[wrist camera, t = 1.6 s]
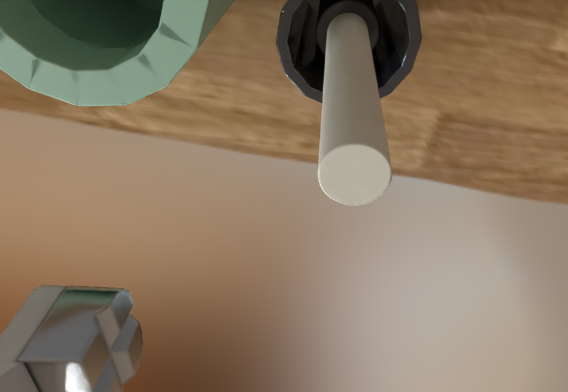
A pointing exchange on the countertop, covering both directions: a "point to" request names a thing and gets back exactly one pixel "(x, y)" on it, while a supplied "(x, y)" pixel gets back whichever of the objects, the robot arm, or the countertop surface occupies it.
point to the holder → (386, 54)
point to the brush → (351, 105)
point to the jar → (102, 45)
